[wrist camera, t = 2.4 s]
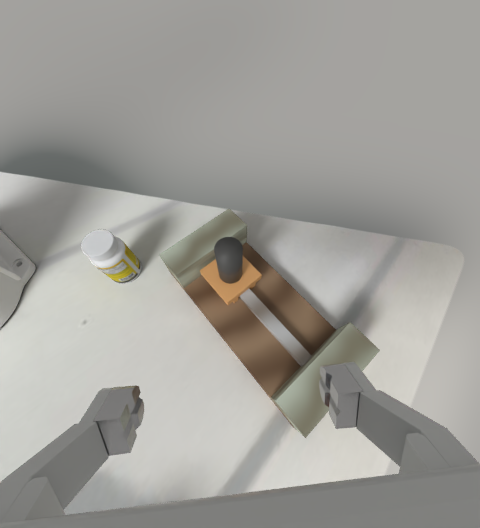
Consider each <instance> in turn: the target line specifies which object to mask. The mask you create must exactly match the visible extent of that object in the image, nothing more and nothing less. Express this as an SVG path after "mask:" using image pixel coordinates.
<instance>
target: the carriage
mask: <svg viewBox="0 0 480 528" xmlns="http://www.w3.org/2000/svg"><path fill="white" fill-rule="evenodd" d="M214 253H215V258H216V259H215V260H214V261H212V262H211V263H209V264H208V265H207V266H205V267H204V268H203V269H201V270H200V273H201V275H202V276H203V277H204V278H205V279H206V281H207V282H208V283H209V284H210V285H211V286H212V288H213V289H214V290H215V291H216V292H217V293H218V295H219V296H220V297H221V298H222V299H223V300H224V302H225V303H226V304H227V305H229V304H230V303H232V302H233V303H235V302H236V301H238V297H239V296H240V295H241V294H243V293H244V292H245V291H246V290H248V289H249V288H250V289H252V288H253V287H255V285H256V282H257V281H259V280H260V279H261V277H262V275H261V274H260V272H259V271H258V270H257V269H256V268H255V267H254V266H253V265H252V264H251V263H250V262H249V261H248V260H247V259H246V258H245V257H244V256H243V246H242V244H241V242H240V241H239V240H238V239H236V238H234V237H224V238H221V239H220V240H218V241H217V243H216V244H215V246H214Z"/></svg>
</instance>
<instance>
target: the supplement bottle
mask: <svg viewBox="0 0 480 528" xmlns="http://www.w3.org/2000/svg"><path fill="white" fill-rule="evenodd" d="M81 249H82V251H83V253H84V254H85V255H86V256H87V257H88V258H89V260H90V262H91V263H92V264H93V265H94V266H95V267H97V268H98V269H99V270H101V271H102V272H103V273H105V274H106V275H107V276H108V277H110V278H111V279H112V280H114V281H115V282H117V283H122V284H125V283H129V282H132V281H133V280H135V279H136V278H137V277H138V275H139V274H140V272H141V263H140V261H139V260H138V258H137V257H136V256H135V255H134V254H133V252H132V251H131V250H130V249H129V248H128V247H127V246H126V244H125V243H124V242H123V241H122V240H121V239H119V238H117V237H115V236H114V235H113V234H112V233H111V232H109V231H108V230H104V229H98V230H94V231H92V232H90V233H89V234H87V235H86V236H85V237H84V239H83V240H82V243H81Z"/></svg>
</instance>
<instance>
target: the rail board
mask: <svg viewBox="0 0 480 528" xmlns="http://www.w3.org/2000/svg"><path fill="white" fill-rule="evenodd" d="M224 237H234V238H236V239H238V240H239V241H240V242H241V244H242V246H243V256H244V257H245V258H246V259H247V260H248V261H249V262H250V263H251V264H252V265H253V266H254V267H255V268H256V269H257V270H258V271H259V272H260V274H261V275H262V277H261V279H260V280H259V281H257V282H256V285H255V287H253V288H252V289H250V288H249V289H248V290H246V291H245V292H244V293H243V294H241V295H240V296H239V297H238V301H236V302H235V303H233V302H232V303H230V304H229V305H227V304H226V303H225V302H224V300H223V299H222V298H221V297H220V296H219V295H218V293H217V292H216V291H215V290H214V289H213V288H212V286H211V285H210V284H209V283H208V282H207V281H206V279H205V278H204V277H203V276H202V275H201V273H200V270H201V269H203V268H204V267H205V266H207V265H208V264H209V263H211V262H212V261H214V260H215V259H216V258H215V253H214V246H215V244H216V243H217V241H218V240H220V239H221V238H224ZM246 239H247V225H246V224H245V223H244V222H243V221H242V220H241V219H240V218H239V217H238V216H237V215H236V214H235V213H234V212H232V211H231V210H230V209H227V210H226V211H224V212H223V213H221V214H220V215H218V216H217V217H215V218H214V219H212V220H211V221H209V222H208V223H206V224H205V225H203V226H202V227H200V228H199V229H197V230H196V231H194V232H193V233H191V234H190V235H188V236H187V237H185V238H184V239H182V240H181V241H179V242H178V243H176V244H175V245H173V246H172V247H170V248H169V249H167V250H166V251H164V252H163V253H161V254H160V257H161V258H162V260H163V261H164V263H165V265H166V266H167V268H168V269H169V271H170V272H171V274H172V275H173V276H174V278H175V279H176V280H177V281H178V283H179V284H180V285H181V286H182V288H183V289H184V290H185V291H186V293H187V294H188V295H189V296H190V298H191V299H192V300H193V302H194V303H195V304H196V305H197V307H198V308H199V309H200V310H201V312H202V313H203V314H204V315H205V317H206V318H207V319H208V320H209V322H210V323H211V324H212V325H213V327H214V328H215V329H216V331H217V332H218V333H219V334H220V336H221V337H222V338H223V339H224V341H225V342H226V343H227V344H228V346H229V347H230V348H231V349H232V351H233V352H234V353H235V354H236V356H237V357H238V358H239V359H240V361H241V362H242V363H243V365H244V366H245V367H246V368H247V370H248V371H249V372H250V373H251V375H252V376H253V377H254V378H255V380H256V381H257V382H258V383H259V385H260V386H261V387H262V388H263V390H264V391H265V392H266V393H267V395H268V396H269V397H270V399H271V400H272V401H273V402H274V404H275V405H276V406H277V407H278V409H279V410H280V411H281V412H282V414H283V415H284V416H285V417H286V419H287V420H288V421H289V422H290V424H291V425H292V426H293V427H294V428H295V429H296V430H297V431H298V432H299V433H301V434H302V435H303V436H304V437H305V438H306V437H307V436H308V434H309V433H310V432H311V431H312V430H313V429H314V427H315V426H316V425H317V424H318V423H319V421H320V420H321V419H322V418H323V417H324V416H325V414H326V413H327V412H328V411H329V407H328V406H326V405H325V404H324V402H323V400H322V397H321V394H320V388H319V381H320V379H321V378H322V377H321V375H320V367H321V366H324V365H333V364H342V363H349V362H354V363H356V364H357V366H358V367H359V368H360V369H361V371H363V370H364V368H365V367H366V366H367V365H368V364H369V363H370V361H371V360H372V359H373V358H374V357H375V356H376V354H377V353H378V352H379V351H380V350H379V349H378V348H377V347H376V346H375V345H374V344H373V343H372V342H371V341H370V340H369V339H367V338H366V337H365V336H364V335H363V334H362V333H361V332H360V331H359V330H358V329H357V328H356V327H355V326H354V325H353V324H352V323H348V324H346V325H344V326H342V327H341V328H339V329H337V330H336V329H335V328H333V327H332V326H331V325H330V324H329V323H328V322H327V321H326V320H325V319H324V318H323V317H322V316H321V315H320V314H319V313H318V312H317V311H316V310H315V309H314V308H313V307H312V306H311V305H310V304H309V303H308V302H307V301H306V300H305V299H304V298H303V297H302V296H301V295H300V294H299V293H298V292H297V291H296V290H295V289H294V288H293V287H292V286H291V285H290V284H289V283H288V282H287V281H286V280H284V279H283V278H282V277H281V276H280V275H279V274H278V273H277V272H276V271H275V270H274V269H273V268H272V267H271V266H270V265H269V264H268V263H267V262H266V261H265V260H264V259H263V258H262V257H261V256H260V255H259V254H258V253H257V252H256V251H255V250H254V249H253V248H252V247H251V246H250V245H249V244H248V243H247V242H246Z"/></svg>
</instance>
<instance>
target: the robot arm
mask: <svg viewBox="0 0 480 528" xmlns="http://www.w3.org/2000/svg"><path fill="white" fill-rule="evenodd" d="M35 268H36V267H35V265H34V264H33V263H32V262H31V260H30V259H29V258H28V257H27V256H26V255H25V254H24V253H23V252H22V251H21V250H20V249H19V248H18V247H17V246H16V245H15V244H14V243H13V242H12V241H11V240H10V239H9V238H8V237H7V236H6V235H5V234H4V233H3V232H2V231H1V230H0V327H1V326H2V325H3V324H4V323H5V322H6V321H7V320H8V318H9V317H10V316H11V314H12V313H13V311H14V310H15V308H16V306H17V304H18V302H19V300H20V297H21V294H22V290H23V288H24V286H25V284H26V283H27V282H28V280H29V279H30V278H31V276H32V275H33V273H34V271H35ZM320 375H321V377H322V378H321V379H320V381H319V388H320V394H321V397H322V400H323V402H324V404H325V405H326V406H328V407H329V415H330V417H331V419H332V421H333V424H334V426H335V428H336V429H339V428H351V427H357V429H358V430H359V431H360V432H361V433H363V434H364V435H365V436H366V437H367V438H368V439H369V440H370V441H372V442H373V443H374V444H375V445H376V446H377V447H378V448H379V449H381V450H382V451H383V452H384V453H385V454H386V455H387V456H388V457H390V458H391V459H392V460H393V461H394V462H395V463H396V464H398V465H399V466H400V470H399V474H393V475H385V476H377V477H369V478H361V479H353V480H344V481H336V482H328V483H320V484H312V485H304V486H296V487H288V488H280V489H272V490H265V491H257V492H249V493H240V494H232V495H224V496H216V497H208V498H200V499H191V500H183V501H175V502H167V503H159V504H151V505H143V506H135V507H127V508H118V509H110V510H102V511H94V512H86V513H78V514H70V515H66V514H65V512H64V509H65V507H66V506H67V505H68V504H69V503H70V502H71V500H72V499H73V498H74V497H75V496H76V495H77V493H78V492H79V491H80V490H81V489H82V488H83V486H84V485H85V484H86V483H87V482H88V481H89V480H90V478H91V477H92V476H93V475H94V474H95V473H96V471H97V470H98V469H99V468H100V467H101V466H102V464H103V463H104V462H105V461H106V460H107V459H108V457H109V456H110V455H117V454H124V453H131V450H132V447H133V444H134V442H135V439H136V436H137V435H136V431H135V430H136V429H137V428H138V427H139V426H140V425H141V422H142V419H143V414H144V404H143V400H142V399H140V398H139V395H140V389H139V386H125V387H114V388H104V389H101V390H100V391H99V392H98V394H97V395H96V397H95V398H94V400H93V402H92V403H91V405H90V406H89V408H88V409H87V411H86V413H85V414H84V416H83V417H82V419H81V421H80V422H79V424H74V425H73V426H72V427H70V428H69V429H68V430H67V431H65V432H64V433H63V434H61V435H60V436H59V437H58V438H56V439H55V440H54V441H52V442H51V443H50V444H49V445H47V446H46V447H45V448H43V449H42V450H41V451H40V452H38V453H37V454H36V455H34V456H33V457H32V458H31V459H29V460H28V461H27V462H25V463H24V464H23V465H22V466H20V467H19V468H18V469H16V470H15V471H14V472H13V473H11V474H10V475H9V476H7V477H6V478H5V479H4V480H2V482H1V483H0V528H480V464H479V463H478V462H477V460H476V459H475V458H473V456H472V455H471V454H470V453H469V452H468V451H467V450H466V449H465V447H464V446H463V445H462V444H461V443H460V442H459V441H458V440H457V439H456V438H455V437H454V436H453V435H452V434H451V432H450V431H449V430H448V429H447V428H445V427H443V426H442V425H440V424H438V423H436V422H435V421H433V420H431V419H429V418H428V417H426V416H424V415H422V414H420V413H419V412H417V411H415V410H414V409H412V408H410V407H408V406H407V405H405V404H403V403H401V402H400V401H398V400H396V399H394V398H393V397H391V396H389V395H387V394H386V393H384V392H382V391H380V390H376V389H375V388H374V386H373V385H372V384H371V383H370V381H369V380H368V379H367V377H366V376H365V375H364V373H363V372H362V371H361V369H360V368H359V367H358V366H357V364H356V363H354V362H349V363H342V364H333V365H324V366H321V367H320Z"/></svg>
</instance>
